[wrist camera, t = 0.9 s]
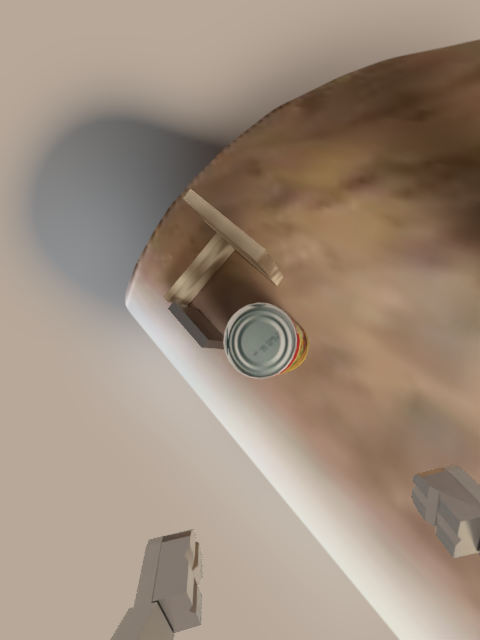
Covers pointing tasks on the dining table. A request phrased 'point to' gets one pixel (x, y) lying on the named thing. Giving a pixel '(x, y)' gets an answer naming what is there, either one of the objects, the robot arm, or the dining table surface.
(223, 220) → the shelf wall
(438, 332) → the dining table surface
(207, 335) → the bookend
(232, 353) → the canned food
